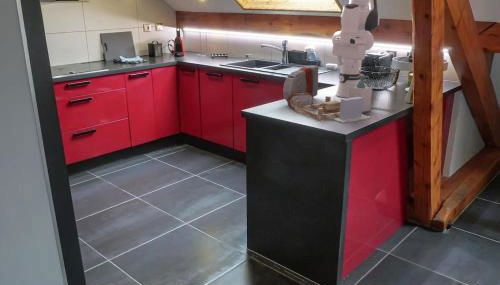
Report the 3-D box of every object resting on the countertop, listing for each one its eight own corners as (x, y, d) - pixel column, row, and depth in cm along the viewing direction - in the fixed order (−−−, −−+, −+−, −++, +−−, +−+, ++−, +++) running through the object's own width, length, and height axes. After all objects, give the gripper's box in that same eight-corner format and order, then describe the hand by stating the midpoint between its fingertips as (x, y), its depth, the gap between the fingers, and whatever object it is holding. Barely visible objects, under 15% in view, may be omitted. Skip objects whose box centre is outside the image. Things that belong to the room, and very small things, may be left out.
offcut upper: (322, 108, 223) (322, 102, 222) (335, 106, 228) (335, 100, 227) (327, 110, 220) (327, 104, 219) (340, 107, 225) (340, 102, 224)
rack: (327, 106, 237) (328, 96, 235) (353, 115, 220) (354, 104, 218) (294, 111, 226) (295, 100, 224) (319, 121, 209) (320, 109, 207)
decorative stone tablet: (310, 63, 253) (281, 74, 232) (320, 64, 249) (291, 75, 228) (310, 95, 260) (281, 108, 239) (319, 96, 256) (291, 110, 235)
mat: (360, 115, 221) (361, 114, 220) (370, 118, 215) (370, 117, 215) (332, 119, 212) (332, 118, 211) (342, 123, 206) (342, 122, 206)
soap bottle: (359, 112, 225) (363, 77, 219) (347, 109, 232) (350, 74, 225) (370, 110, 230) (374, 75, 224) (357, 107, 236) (361, 73, 230)
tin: (311, 106, 237) (312, 91, 234) (313, 107, 234) (314, 92, 231) (286, 108, 232) (287, 93, 229) (289, 109, 229) (289, 94, 227)
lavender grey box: (339, 118, 211) (340, 99, 208) (357, 115, 217) (359, 96, 214) (343, 120, 209) (345, 100, 205) (361, 117, 214) (363, 98, 211)
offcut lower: (321, 111, 229) (322, 105, 228) (341, 113, 225) (342, 108, 224) (319, 113, 225) (319, 107, 224) (339, 115, 221) (340, 110, 220)
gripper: (330, 37, 216) (328, 64, 221) (358, 41, 199) (356, 70, 204) (339, 36, 219) (338, 62, 224) (368, 40, 202) (366, 69, 207)
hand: (347, 66), depth 214 cm, fingers open, 8 cm apart
